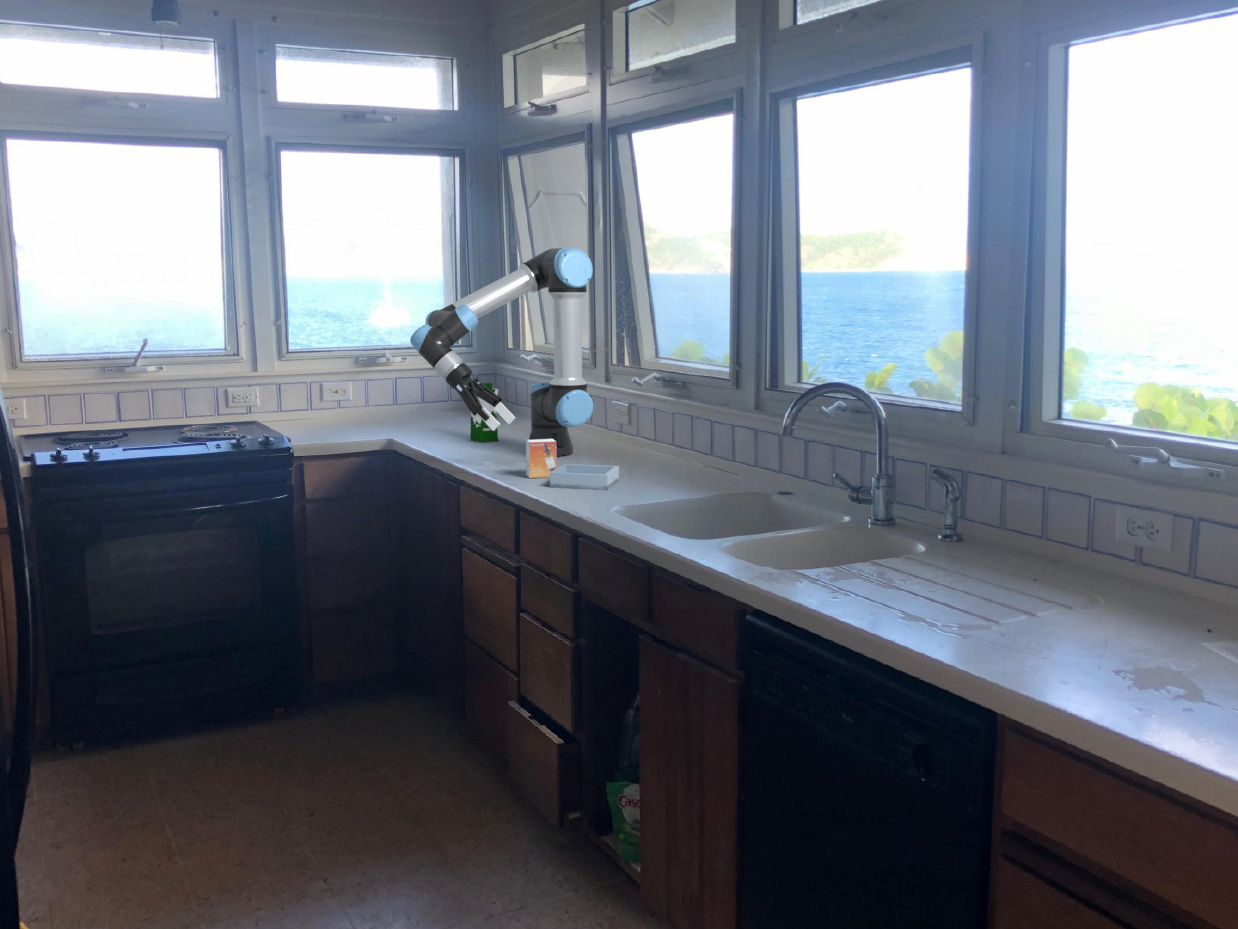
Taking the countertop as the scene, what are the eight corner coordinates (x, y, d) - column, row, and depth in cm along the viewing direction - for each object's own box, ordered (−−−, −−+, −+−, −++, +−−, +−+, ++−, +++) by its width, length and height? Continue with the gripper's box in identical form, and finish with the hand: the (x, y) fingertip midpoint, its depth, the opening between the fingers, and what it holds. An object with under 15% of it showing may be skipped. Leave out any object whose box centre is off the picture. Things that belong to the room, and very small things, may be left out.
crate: (564, 477, 307) (563, 464, 306) (618, 480, 303) (618, 466, 302) (550, 487, 293) (549, 472, 292) (607, 489, 290) (607, 475, 289)
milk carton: (480, 443, 369) (479, 384, 366) (466, 440, 376) (464, 382, 372) (501, 440, 375) (500, 383, 371) (487, 437, 381) (486, 381, 378)
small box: (529, 478, 305) (528, 442, 304) (525, 475, 311) (525, 439, 309) (557, 477, 307) (556, 440, 306) (553, 474, 313) (552, 438, 311)
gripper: (461, 375, 323) (510, 427, 322) (428, 384, 299) (481, 439, 298) (477, 358, 320) (526, 410, 320) (446, 365, 297) (498, 421, 296)
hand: (504, 424), depth 309 cm, fingers open, 13 cm apart
